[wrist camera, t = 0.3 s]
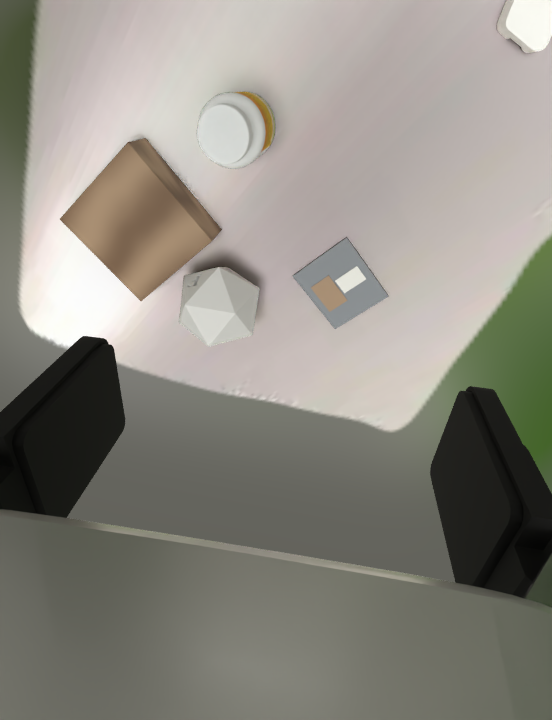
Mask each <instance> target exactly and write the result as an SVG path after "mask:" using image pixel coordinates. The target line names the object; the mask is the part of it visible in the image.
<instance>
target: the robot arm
mask: <svg viewBox="0 0 552 720" xmlns="http://www.w3.org/2000/svg"><path fill="white" fill-rule="evenodd" d="M124 426H125V415H124V409H123V403H122V397H121V391H120V384H119V378H118V372H117V365H116V359H115V353H114V348H113V346H112V345H109V344H108V342H107V340H106V339H103V338H96V337H88V336H83V337H81V338H80V339H79V340H78V341H77V342H76V343H74V344H73V345H72V346H71V347H70V348H69V349H68V350H67V351H66V352H65V353H64V354H63V355H62V356H60V357H59V358H58V359H57V360H56V361H55V362H54V363H53V364H52V365H51V366H50V367H49V368H47V369H46V370H45V371H44V372H43V373H42V374H41V375H40V376H39V377H38V378H37V379H36V380H35V381H34V382H32V383H31V384H30V385H29V386H28V387H27V388H26V389H25V390H24V391H23V392H22V393H21V394H19V395H18V396H17V397H16V398H15V399H14V400H13V401H12V402H11V403H10V404H9V405H7V406H6V407H5V408H4V409H3V410H2V411H1V412H0V720H552V494H551V492H550V490H549V488H548V486H547V485H546V483H545V481H544V479H543V477H542V475H541V473H540V471H539V470H538V467H537V466H536V464H535V462H534V460H533V458H532V456H531V454H530V452H529V451H528V449H527V448H526V447H525V446H524V445H523V444H522V442H521V440H520V438H519V436H518V434H517V432H516V430H515V428H514V426H513V425H512V423H511V421H510V419H509V417H508V415H507V413H506V411H505V409H504V407H503V406H502V404H501V402H500V400H499V398H498V396H497V394H496V392H495V391H494V390H493V389H486V388H479V387H471V386H470V387H468V388H467V389H466V391H460V392H459V393H458V395H457V398H456V401H455V403H454V406H453V409H452V411H451V414H450V416H449V419H448V422H447V424H446V427H445V429H444V432H443V435H442V437H441V440H440V443H439V445H438V448H437V451H436V453H435V456H434V459H433V461H432V464H431V471H430V475H431V480H432V485H433V489H434V493H435V497H436V501H437V506H438V510H439V514H440V518H441V522H442V527H443V531H444V535H445V540H446V544H447V548H448V552H449V557H450V560H451V565H452V569H453V574H454V577H455V582H456V583H454V582H449V581H444V580H438V579H433V578H427V577H422V576H417V575H411V574H406V573H400V572H394V571H388V570H382V569H376V568H371V567H365V566H359V565H353V564H347V563H341V562H335V561H329V560H323V559H317V558H312V557H306V556H299V555H293V554H288V553H282V552H276V551H269V550H263V549H257V548H251V547H244V546H238V545H233V544H226V543H221V542H214V541H208V540H202V539H196V538H190V537H184V536H177V535H171V534H165V533H159V532H152V531H146V530H140V529H133V528H127V527H121V526H114V525H108V524H102V523H95V522H89V521H83V520H76V519H70V518H67V516H68V514H69V513H70V511H71V510H72V508H73V506H74V505H75V504H76V502H77V501H78V499H79V498H80V496H81V495H82V493H83V492H84V490H85V488H86V487H87V485H88V484H89V482H90V481H91V479H92V478H93V476H94V475H95V473H96V472H97V470H98V469H99V467H100V465H101V464H102V462H103V461H104V459H105V458H106V456H107V454H108V453H109V452H110V450H111V449H112V447H113V446H114V444H115V443H116V441H117V439H118V438H119V436H120V435H121V433H122V432H123V429H124Z"/></svg>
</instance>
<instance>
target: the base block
mask: <svg viewBox="0 0 552 720" xmlns="http://www.w3.org/2000/svg"><path fill="white" fill-rule="evenodd" d="M60 220H61V221H62V222H63V223H64V224H65V225H66V226H67V227H68V228H69V229H70V230H71V231H72V232H73V233H74V234H75V235H76V236H77V237H78V238H79V239H80V240H81V241H82V242H83V243H84V244H85V245H86V246H87V247H88V248H89V249H90V250H91V251H92V252H93V253H94V254H95V255H96V256H97V257H98V258H99V259H100V260H101V261H102V262H103V263H104V264H105V266H106V267H107V268H108V269H109V270H110V271H111V272H112V273H113V274H114V275H115V276H116V277H117V278H118V279H119V280H120V281H121V282H122V283H123V284H124V285H125V286H126V287H127V288H128V289H129V290H130V291H131V292H132V293H133V294H134V295H135V296H136V297H137V298H138V299H139V300H140V301H142V300H143V299H144V298H146V297H147V296H148V295H149V294H150V293H151V292H153V291H154V290H155V289H156V288H157V287H158V286H160V285H161V284H162V283H163V282H164V281H166V280H167V279H168V278H169V277H170V276H171V275H173V274H174V273H175V272H176V271H177V270H179V269H180V268H181V267H182V266H183V265H184V264H186V263H187V262H188V261H189V260H190V259H191V258H193V257H194V256H195V255H196V254H197V253H199V252H200V251H201V250H202V249H203V248H204V247H206V246H207V245H208V244H209V243H210V242H211V241H212V240H213V239H214V238H215V237H216V236H217V235H218V233H219V232H220V231H221V230H222V229H221V228H220V227H219V226H218V225H217V223H216V222H215V221H214V220H213V219H212V217H211V216H210V215H209V214H208V213H207V211H206V210H205V209H204V208H203V207H202V206H201V204H200V203H199V202H198V201H197V200H196V198H195V197H194V196H193V195H192V194H191V192H190V191H189V190H188V189H187V188H186V186H185V185H184V184H183V183H182V182H181V180H180V179H179V178H178V177H177V176H176V174H175V173H174V172H173V171H172V170H171V168H170V167H169V166H168V165H167V164H166V162H165V161H164V160H163V159H162V158H161V156H160V155H159V154H158V153H157V152H156V150H155V149H154V148H153V147H152V146H151V144H150V143H149V142H148V141H147V140H146V138H144V139H140V140H136V141H132V142H128V143H127V144H126V145H125V146H124V147H123V148H122V149H121V151H120V152H119V153H118V154H117V155H116V156H115V157H114V159H113V160H112V161H111V162H110V163H109V164H108V165H107V166H106V168H105V169H104V170H103V171H102V172H101V173H100V174H99V175H98V177H97V178H96V179H95V180H94V181H93V182H92V183H91V184H90V186H89V187H88V188H87V189H86V190H85V191H84V192H83V193H82V195H81V196H80V197H79V198H78V199H77V200H76V201H75V203H74V204H73V205H72V206H71V207H70V208H69V209H68V210H67V212H66V213H65V214H64V215H63V216H62V217H61V218H60Z"/></svg>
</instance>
